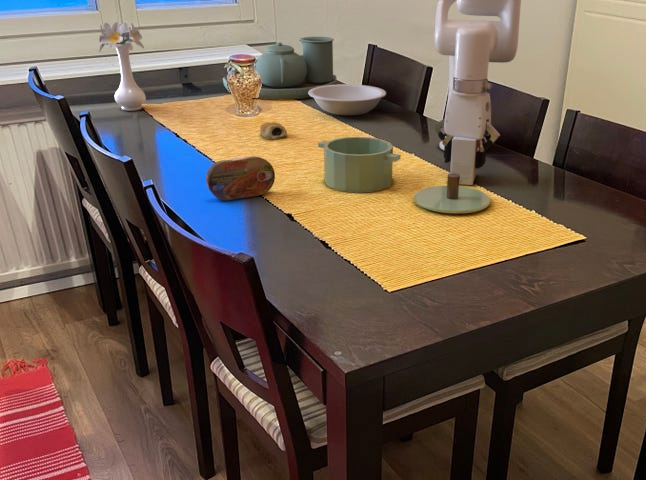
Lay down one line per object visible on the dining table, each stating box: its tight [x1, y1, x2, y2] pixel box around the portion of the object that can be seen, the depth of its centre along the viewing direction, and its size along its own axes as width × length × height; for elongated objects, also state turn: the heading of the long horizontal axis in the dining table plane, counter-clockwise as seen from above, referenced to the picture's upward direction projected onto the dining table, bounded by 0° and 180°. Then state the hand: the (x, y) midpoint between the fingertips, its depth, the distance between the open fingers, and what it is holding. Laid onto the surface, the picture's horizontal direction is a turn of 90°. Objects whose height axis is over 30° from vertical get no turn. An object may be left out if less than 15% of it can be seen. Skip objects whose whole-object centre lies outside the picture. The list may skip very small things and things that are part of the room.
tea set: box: [222, 36, 338, 101], centre depth 258 cm, size 40×40×16 cm
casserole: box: [317, 136, 402, 193], centre depth 172 cm, size 16×21×8 cm
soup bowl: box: [308, 83, 387, 116], centre depth 230 cm, size 24×24×7 cm
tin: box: [205, 155, 276, 202], centre depth 162 cm, size 15×3×8 cm, turn 117°
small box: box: [449, 136, 478, 186], centre depth 174 cm, size 8×6×10 cm
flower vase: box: [97, 21, 147, 112], centre depth 227 cm, size 13×18×25 cm
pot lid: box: [413, 173, 491, 214], centre depth 161 cm, size 17×17×6 cm
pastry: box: [259, 121, 287, 141], centre depth 208 cm, size 9×7×4 cm
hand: (463, 163), depth 175 cm, fingers open, 7 cm apart
